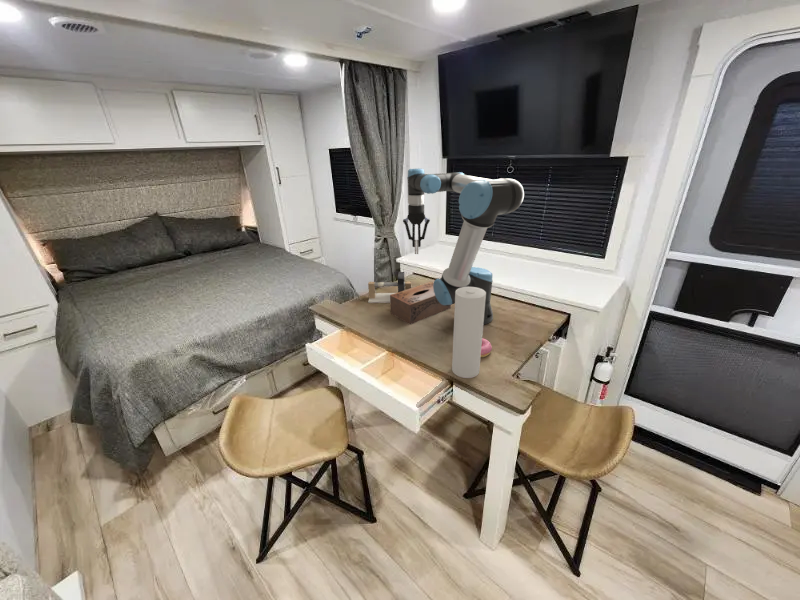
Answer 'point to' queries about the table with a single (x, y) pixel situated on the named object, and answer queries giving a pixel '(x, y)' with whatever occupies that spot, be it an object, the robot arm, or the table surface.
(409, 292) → the tissue box cover
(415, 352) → the table surface
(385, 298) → the rail stand
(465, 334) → the cylinder container
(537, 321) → the table surface
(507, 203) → the robot arm
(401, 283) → the collar
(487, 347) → the doughnut
